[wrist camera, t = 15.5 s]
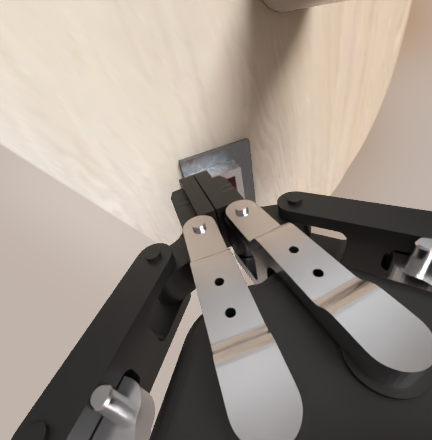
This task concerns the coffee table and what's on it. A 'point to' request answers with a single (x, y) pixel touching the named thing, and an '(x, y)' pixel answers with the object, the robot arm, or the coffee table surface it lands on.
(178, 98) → the coffee table surface
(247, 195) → the jig
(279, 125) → the coffee table surface
